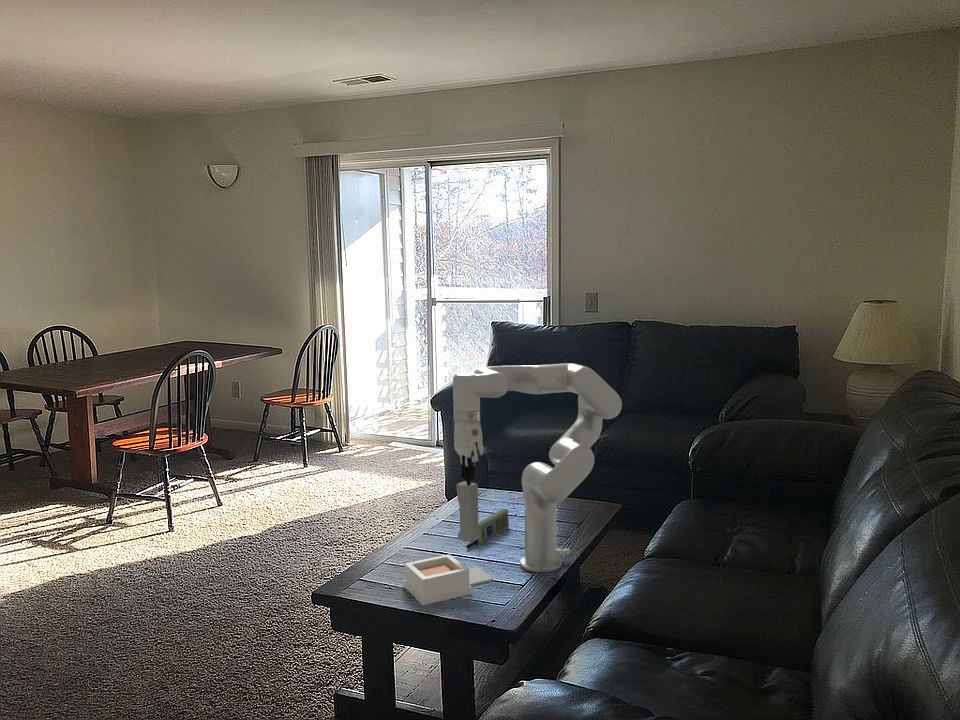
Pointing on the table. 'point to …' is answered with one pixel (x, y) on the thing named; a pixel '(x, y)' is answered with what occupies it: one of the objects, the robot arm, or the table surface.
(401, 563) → the table surface
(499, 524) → the handheld radio
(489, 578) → the light gray square panel
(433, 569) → the button
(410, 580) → the frame
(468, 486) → the vintage mobile phone
